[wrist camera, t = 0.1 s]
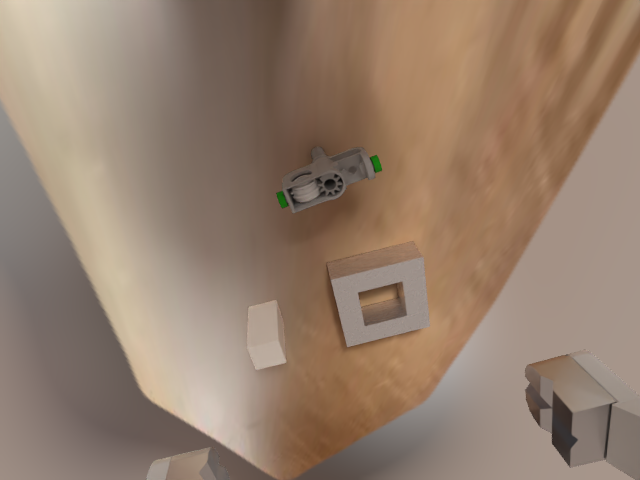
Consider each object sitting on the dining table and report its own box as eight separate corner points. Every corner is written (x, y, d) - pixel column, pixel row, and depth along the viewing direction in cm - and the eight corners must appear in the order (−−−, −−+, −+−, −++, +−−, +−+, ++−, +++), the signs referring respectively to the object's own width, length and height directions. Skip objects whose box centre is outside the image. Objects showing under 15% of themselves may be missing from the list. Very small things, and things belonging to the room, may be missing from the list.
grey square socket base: (326, 262, 54) (330, 279, 51) (412, 241, 54) (423, 256, 51) (342, 327, 60) (347, 347, 57) (420, 308, 61) (429, 326, 57)
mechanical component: (362, 149, 47) (385, 180, 39) (281, 180, 48) (285, 218, 39) (355, 125, 46) (377, 151, 37) (271, 157, 46) (273, 191, 38)
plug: (248, 306, 56) (246, 348, 49) (276, 299, 56) (278, 340, 50) (256, 327, 58) (256, 370, 52) (283, 321, 58) (286, 362, 52)
